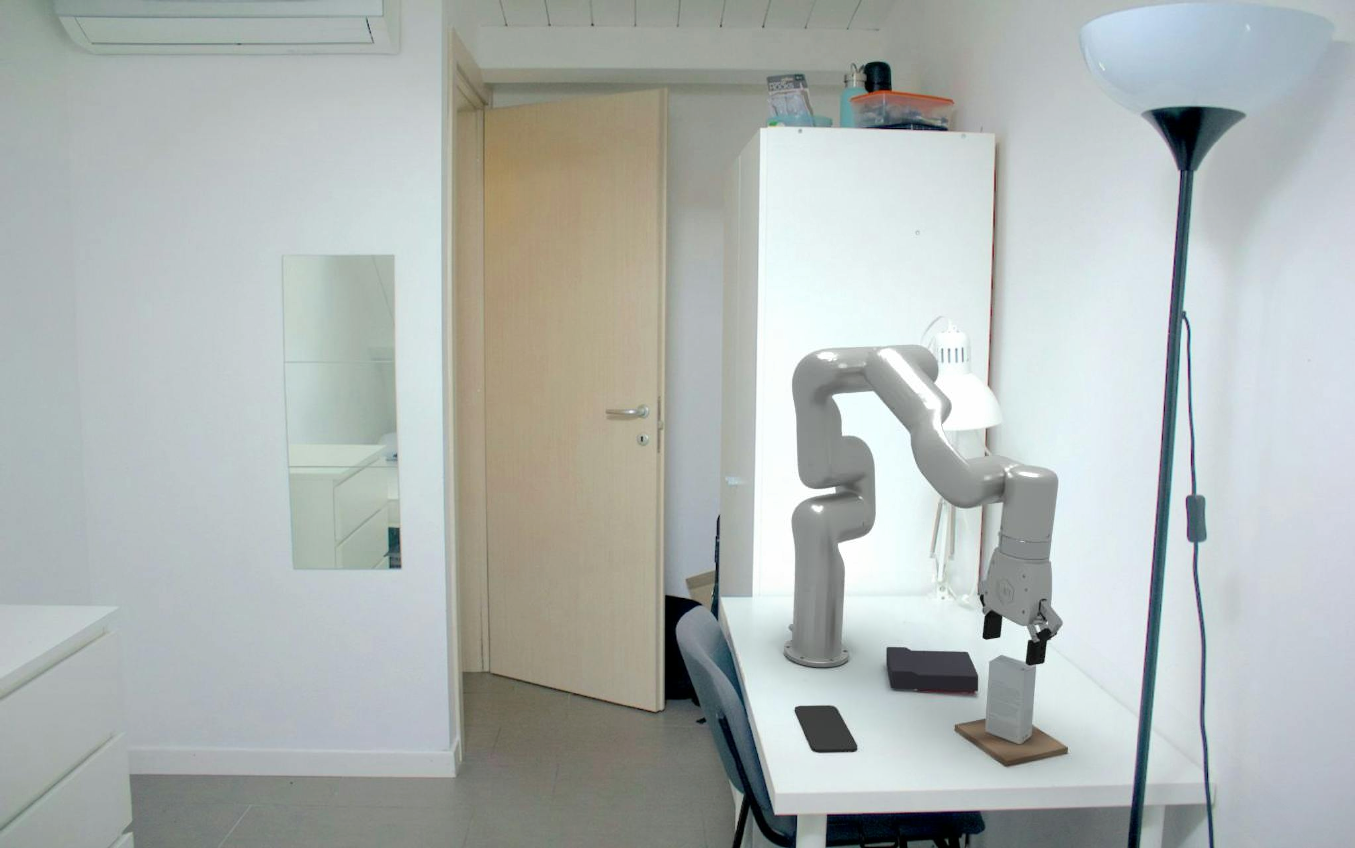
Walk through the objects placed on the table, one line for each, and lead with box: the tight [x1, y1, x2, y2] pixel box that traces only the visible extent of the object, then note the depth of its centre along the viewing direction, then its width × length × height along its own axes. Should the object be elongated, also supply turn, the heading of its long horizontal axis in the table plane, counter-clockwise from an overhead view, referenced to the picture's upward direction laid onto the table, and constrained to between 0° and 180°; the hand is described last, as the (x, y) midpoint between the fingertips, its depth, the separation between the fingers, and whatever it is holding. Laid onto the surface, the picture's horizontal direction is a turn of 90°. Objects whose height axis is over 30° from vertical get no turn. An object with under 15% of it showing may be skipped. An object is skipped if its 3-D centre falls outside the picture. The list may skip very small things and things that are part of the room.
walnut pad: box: [953, 718, 1069, 768], centre depth 143 cm, size 12×12×1 cm
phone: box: [794, 704, 858, 754], centre depth 147 cm, size 7×1×15 cm
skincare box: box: [985, 654, 1037, 744], centre depth 143 cm, size 6×4×12 cm
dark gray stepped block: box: [885, 646, 979, 694], centre depth 165 cm, size 11×4×15 cm
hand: (1012, 650), depth 142 cm, fingers open, 9 cm apart
